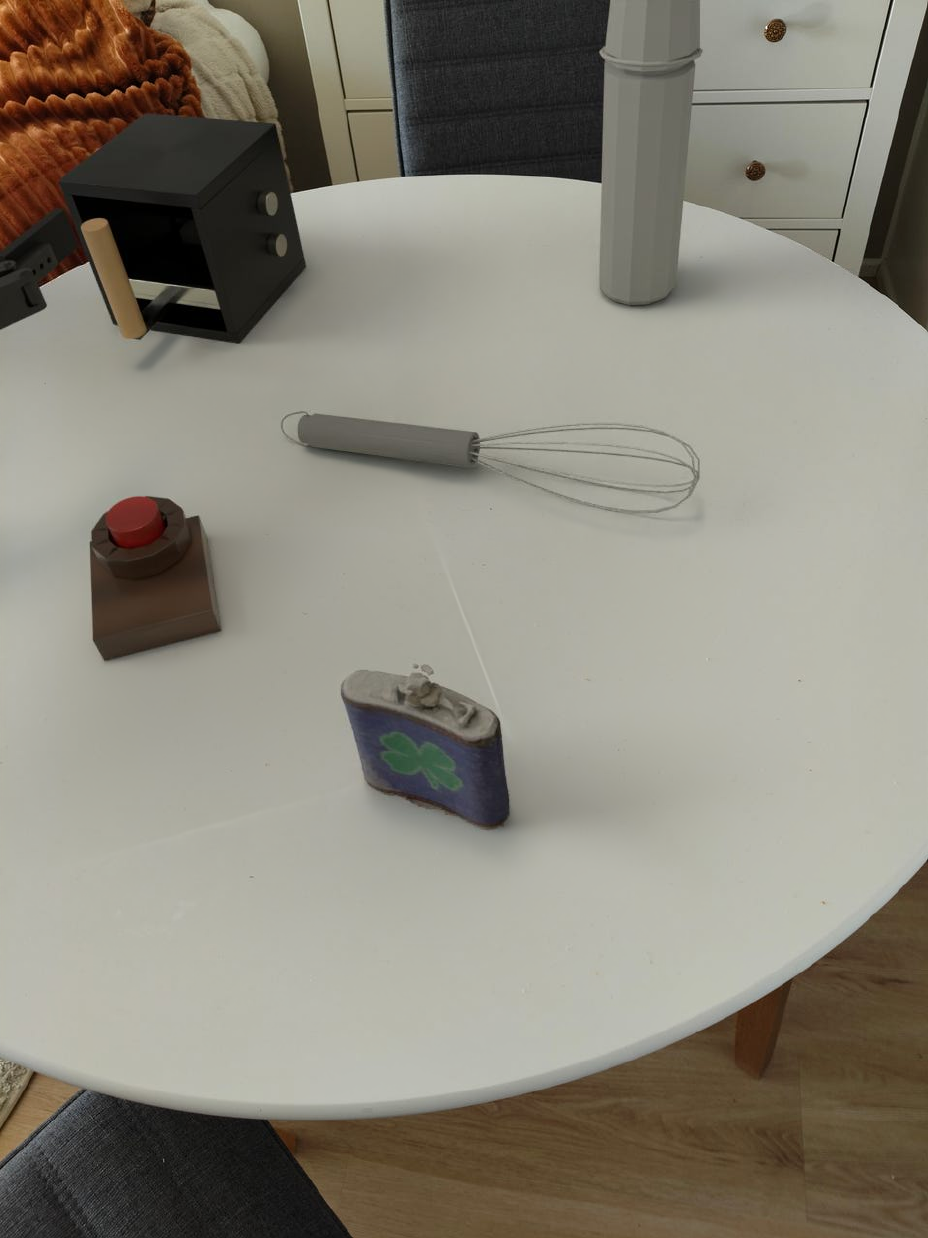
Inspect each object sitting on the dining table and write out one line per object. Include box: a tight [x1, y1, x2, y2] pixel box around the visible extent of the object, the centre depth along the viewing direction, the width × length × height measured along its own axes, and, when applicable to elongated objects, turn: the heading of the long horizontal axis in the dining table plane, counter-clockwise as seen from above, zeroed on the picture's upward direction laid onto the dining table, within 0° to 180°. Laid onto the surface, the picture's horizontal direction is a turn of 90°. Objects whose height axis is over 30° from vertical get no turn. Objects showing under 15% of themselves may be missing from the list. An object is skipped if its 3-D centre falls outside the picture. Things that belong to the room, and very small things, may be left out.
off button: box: [106, 495, 165, 549], centre depth 69 cm, size 4×4×2 cm
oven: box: [57, 112, 307, 344], centre depth 92 cm, size 15×14×14 cm
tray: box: [81, 215, 221, 341], centre depth 89 cm, size 11×19×10 cm, turn 160°
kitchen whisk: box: [280, 410, 701, 514], centre depth 74 cm, size 6×34×6 cm, turn 69°
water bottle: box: [598, 0, 704, 306], centre depth 84 cm, size 9×8×25 cm
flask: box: [340, 663, 511, 830], centre depth 54 cm, size 9×3×11 cm, turn 65°
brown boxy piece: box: [89, 495, 222, 662], centre depth 70 cm, size 11×8×4 cm
